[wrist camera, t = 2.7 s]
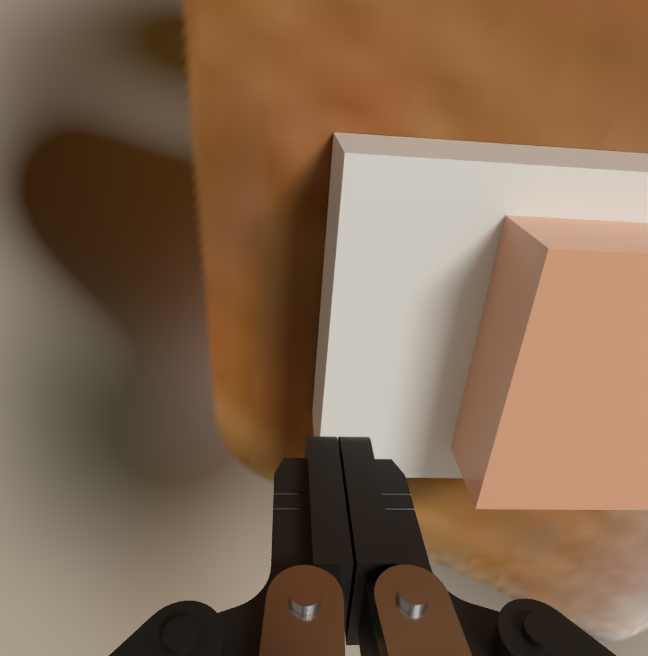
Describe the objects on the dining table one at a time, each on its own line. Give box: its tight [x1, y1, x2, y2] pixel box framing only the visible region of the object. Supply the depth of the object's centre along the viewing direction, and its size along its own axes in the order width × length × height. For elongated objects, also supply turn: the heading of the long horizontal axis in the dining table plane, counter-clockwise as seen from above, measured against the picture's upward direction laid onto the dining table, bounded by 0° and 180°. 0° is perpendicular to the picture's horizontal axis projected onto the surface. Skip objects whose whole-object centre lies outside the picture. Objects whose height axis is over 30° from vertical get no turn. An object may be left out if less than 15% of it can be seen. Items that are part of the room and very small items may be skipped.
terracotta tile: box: [451, 215, 648, 510], centre depth 17 cm, size 9×6×3 cm, turn 176°
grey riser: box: [312, 132, 648, 478], centre depth 20 cm, size 12×12×4 cm
